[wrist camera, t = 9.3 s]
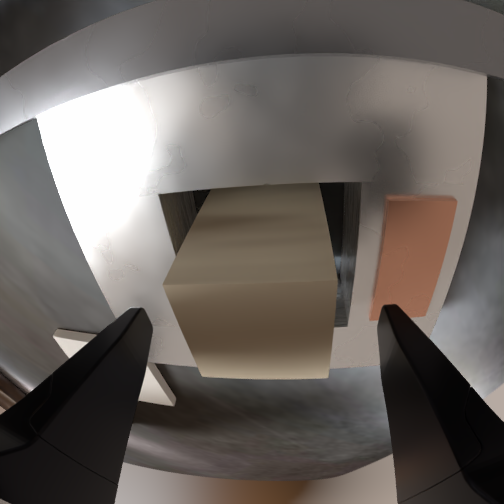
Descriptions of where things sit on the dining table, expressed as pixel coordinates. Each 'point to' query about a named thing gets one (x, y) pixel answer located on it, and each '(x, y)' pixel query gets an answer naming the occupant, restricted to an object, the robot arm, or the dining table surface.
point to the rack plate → (269, 139)
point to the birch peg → (257, 284)
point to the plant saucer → (9, 393)
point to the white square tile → (153, 380)
